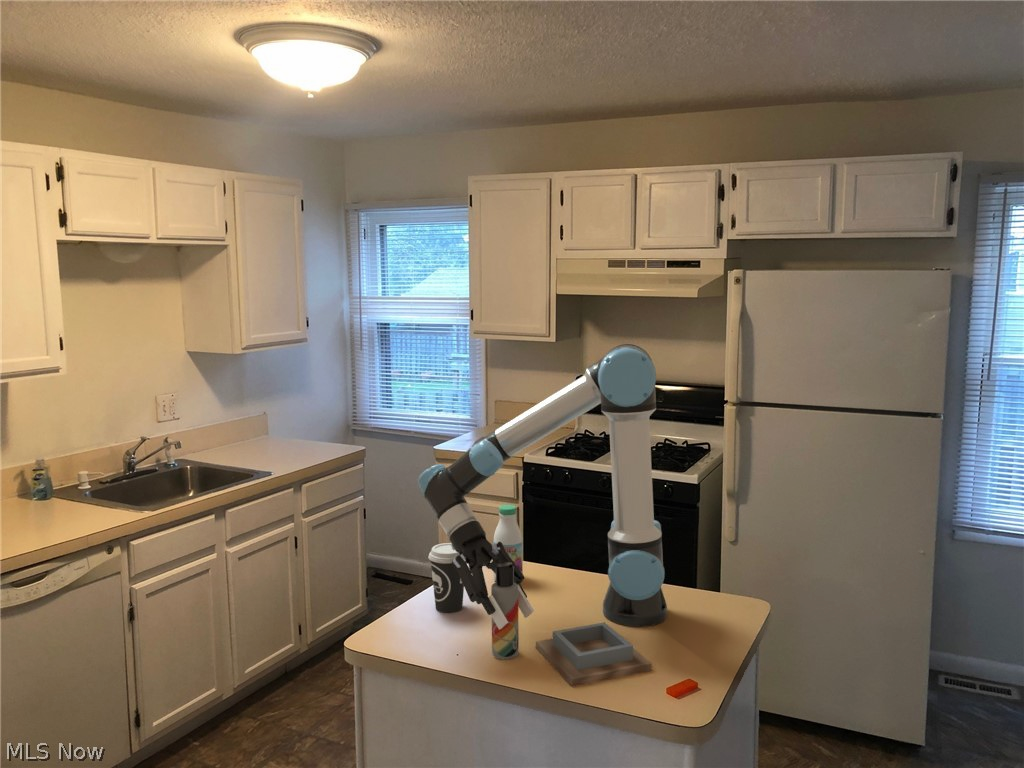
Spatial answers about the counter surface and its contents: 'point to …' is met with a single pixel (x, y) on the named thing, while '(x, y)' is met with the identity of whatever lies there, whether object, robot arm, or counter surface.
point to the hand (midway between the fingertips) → (516, 620)
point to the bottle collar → (595, 658)
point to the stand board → (591, 674)
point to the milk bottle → (510, 535)
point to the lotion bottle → (506, 613)
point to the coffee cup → (446, 579)
